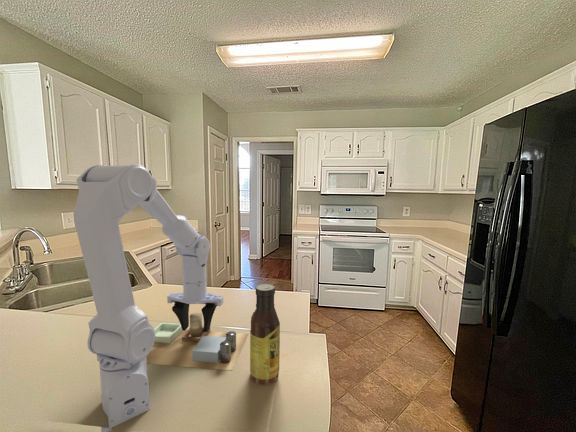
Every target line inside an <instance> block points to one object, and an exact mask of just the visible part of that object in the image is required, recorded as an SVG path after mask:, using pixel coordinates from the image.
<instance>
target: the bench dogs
mask: <svg viewBox="0 0 576 432" xmlns="http://www.w3.org/2000/svg"><path fill="white" fill-rule="evenodd" d="M236 333H237V332H236V331H233V330H232V331H228V332H227V333H226V341H223V342H221V343H220V362H221V363H222V364H227V363H229V362H230V361H231V352H234V351H236Z"/></svg>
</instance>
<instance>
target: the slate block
mask: <svg viewBox="0 0 576 432" xmlns="http://www.w3.org/2000/svg"><path fill="white" fill-rule="evenodd" d="M223 341H226V337H215V336H203V337H202V338H201V340H200V341H199V342H198V344H197V345H196V346H195V348H194V349H193V350H192V359H193V361H199V362H211V363H218V362H219V360H220V343H221V342H223Z"/></svg>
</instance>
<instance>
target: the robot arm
mask: <svg viewBox="0 0 576 432" xmlns="http://www.w3.org/2000/svg"><path fill="white" fill-rule="evenodd" d="M76 184H77V187H78V188H77V189H78V196H77V199H76V203H75V207H74V211H73V222H74V227H75V229H76V234H77V237H78V242H79V246H80V249H81V254H82V258H83V261H84V266H85V270H86V274H87V278H88V281H89V286H90V290H91V293H92V298H93V302H94V305H95V310H96V313H97V314H96V315H95V316H94V317H92V318H91V319H90V321H88V323H87V324H88V328H89V329H88V330H89V334H88V338H87V349H88V350H89V352H91V353H92V354H95V355H96V361H97V362H99V377H100V391H101V404H102V407H101V408H102V411H103V412H104V413H105V414H106V416H107V419H108V426H101V427H100V428H101V432H112V431H113V428H114V427H116V426H119V425H120V424H123V423H125V422H127V421H129V420H131V419H133V418H135V417H137V416H139V415H141V414H143V413H145V412H148V411H149V410H151V408H150V407H151V406H150V388H149V378H148V365H147V360H146V356H147V355H148V354H149V352H150V350H151V349H152V347H153V344H154V341H155V330H154V329H155V327H153V326H152V325H151V324H150V322H149V319H148V318H149V317H148V315H147V314H146V313H145V312H144V311H143V310H142V309H141V308H139V307H138V306H137V305H136V303H135V298H134V293H133V289H132V284H131V280H130V274H129V270H128V265H127V261H126V255H125V250H124V246H123V241H122V235H121V231H120V227H119V222H120V221H121V219H122V218H123V217H124V216H125V215H127V214H128V213H129V212H131V211H132V210H133V209H135V208H136V207H138V206H140V207H141V208H142V209H143V210H144V211H145V212H146V213H148V214H149V215H150V216H151V217H152V218H154V219H155V220H156V221H157V222H159V224H161V225H162V228H161V229H162V233H163V234H164V235H165V236H166V237H167V239H169V240H170V241H171V242H172V243H173V244H174V245H175V250H176V254H177V255H180V256H182V257H181V262H182V263H181V264H182V289H183V292H179V293H178V292H176V293H175V292H174V293H173V292H172V293H170V294H169V295H167V296H166V298H167V299H166V300H167V304H172V303H174V304H173V306H172V307H171V310H172V312H173V313H174V315H175V316H176V317H177V319H178V322H179V324H181V327H182V330H183V331H185V330H188V328H190V305H204V306H203V307H202V308H201V313H202V319H203V327H204V332H208V330H209V329H210V330H211V325H212V319H213V316H214V313H215V311H216V309H217V307H221V306H223V304H224V295H217V294H213V293H210V292H209V293H208V291H207V290H208V288H207V263H208V260H209V253H210V250H211V243H210V240H209V238H207V237H206V236H205V235H203V234H200V233H199V231H197V229H196V228H194V226H193V225H191V223H190V222H189V221H188V220H189V219H188V217H187V216H185V215H182V214H181V215H180V214H176V213H175V212H174V210H173V209H172V208H171V207H170V205H169V204H168V202H167V201H166V200H165V198H164V197H163V196H162V195H161V193H160V192H159V190H158V189H157V187H158V186H157V184H158V183H157V180H156V178H154V177H153V176H152V175H151V173H150V171H149V170H148V169H147V168H146V167H144V166H143V165H142V164H141V165H140V164H138V163H137V164H136V163H132V164H129V165H127V164H126V165H101V164H100V165H99V164H97V165H92V166H90V167H87V169H86V170H85V171H84V172H82V174H80V176H79V177H77V178H76Z"/></svg>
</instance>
